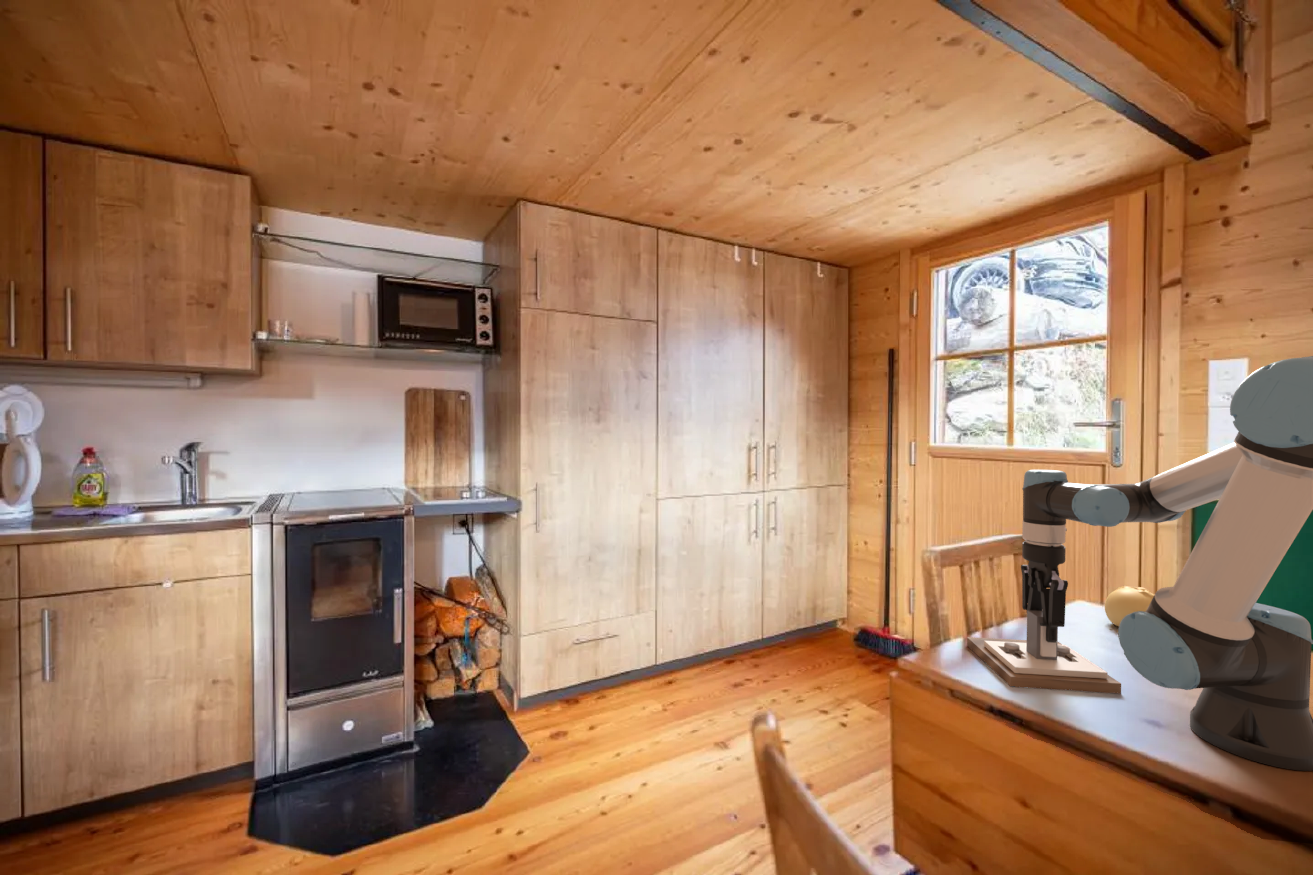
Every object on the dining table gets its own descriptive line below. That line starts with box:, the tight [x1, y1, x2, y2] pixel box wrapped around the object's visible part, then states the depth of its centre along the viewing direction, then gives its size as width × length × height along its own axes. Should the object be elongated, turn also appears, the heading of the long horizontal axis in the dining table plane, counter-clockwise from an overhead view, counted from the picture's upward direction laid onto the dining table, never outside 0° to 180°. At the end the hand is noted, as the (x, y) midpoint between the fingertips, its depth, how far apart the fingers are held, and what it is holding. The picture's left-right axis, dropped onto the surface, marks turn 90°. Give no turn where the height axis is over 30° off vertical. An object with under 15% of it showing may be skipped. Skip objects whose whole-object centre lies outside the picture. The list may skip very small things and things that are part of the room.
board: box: [966, 636, 1122, 695], centre depth 119 cm, size 21×20×5 cm
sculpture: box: [1104, 585, 1155, 627], centre depth 143 cm, size 12×12×11 cm
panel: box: [984, 610, 1108, 679], centre depth 117 cm, size 14×17×10 cm
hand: (1041, 651), depth 117 cm, fingers closed on panel, 4 cm apart
